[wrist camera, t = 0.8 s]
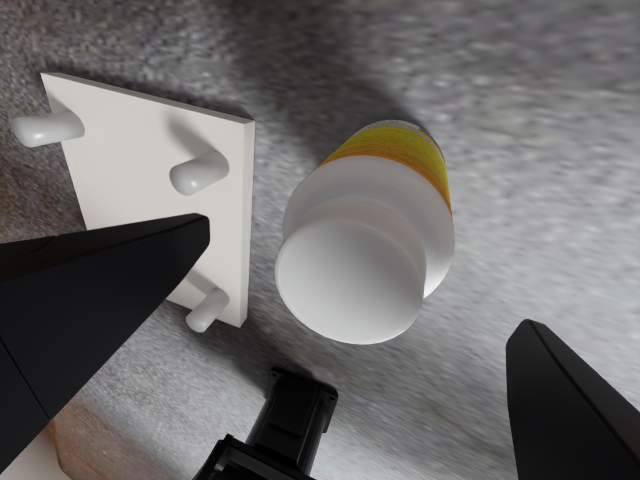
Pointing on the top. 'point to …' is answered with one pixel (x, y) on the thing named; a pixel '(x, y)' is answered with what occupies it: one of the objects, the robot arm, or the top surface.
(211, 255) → the pin tray
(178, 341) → the top surface
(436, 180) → the supplement bottle
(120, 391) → the top surface
